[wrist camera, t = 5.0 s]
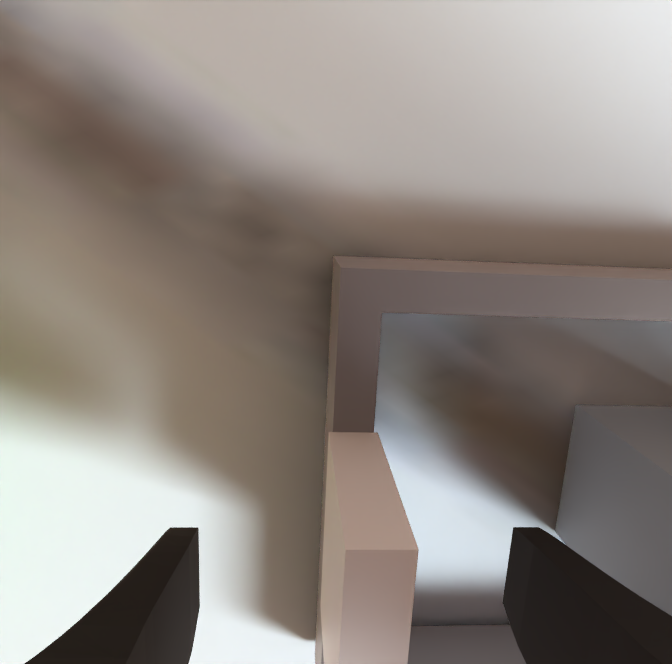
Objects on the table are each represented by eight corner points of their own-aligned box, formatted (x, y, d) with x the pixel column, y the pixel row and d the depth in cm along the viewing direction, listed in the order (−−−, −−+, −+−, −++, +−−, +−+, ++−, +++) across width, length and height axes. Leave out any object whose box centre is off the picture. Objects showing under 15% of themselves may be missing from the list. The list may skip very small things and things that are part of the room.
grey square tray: (777, 273, 16) (1146, 332, 9) (685, 645, 19) (906, 899, 12) (329, 255, 15) (360, 307, 8) (311, 653, 18) (322, 938, 11)
